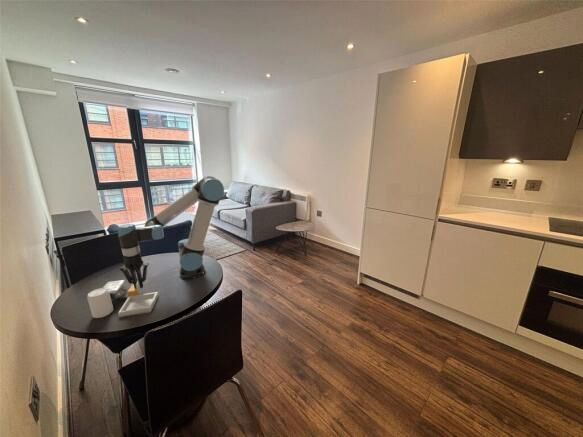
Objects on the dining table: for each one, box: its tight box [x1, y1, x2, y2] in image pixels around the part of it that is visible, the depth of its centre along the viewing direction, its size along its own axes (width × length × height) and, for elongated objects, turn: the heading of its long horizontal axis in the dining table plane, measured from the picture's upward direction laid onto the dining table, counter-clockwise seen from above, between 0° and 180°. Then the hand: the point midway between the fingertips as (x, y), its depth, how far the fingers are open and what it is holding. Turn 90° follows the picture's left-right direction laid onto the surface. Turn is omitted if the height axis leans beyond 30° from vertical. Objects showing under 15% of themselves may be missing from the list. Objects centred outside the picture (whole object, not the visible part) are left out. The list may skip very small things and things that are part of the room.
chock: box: [127, 283, 138, 297], centre depth 127 cm, size 4×7×5 cm, turn 15°
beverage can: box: [86, 287, 114, 319], centre depth 112 cm, size 8×8×12 cm
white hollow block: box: [102, 279, 129, 302], centre depth 123 cm, size 10×10×8 cm
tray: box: [117, 291, 159, 318], centre depth 118 cm, size 14×14×3 cm
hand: (140, 293), depth 127 cm, fingers closed
